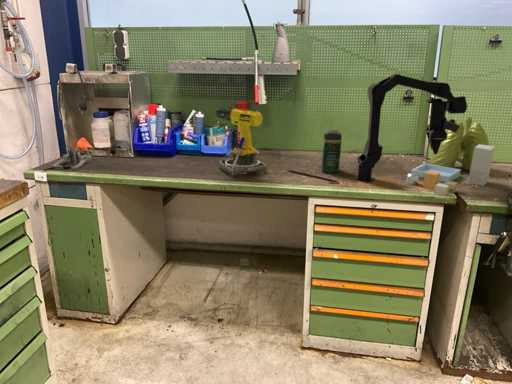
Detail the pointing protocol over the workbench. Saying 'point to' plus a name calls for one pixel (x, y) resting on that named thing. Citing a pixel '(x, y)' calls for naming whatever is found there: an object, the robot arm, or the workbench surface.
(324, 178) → the crowbar
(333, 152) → the coffee jar
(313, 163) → the workbench surface
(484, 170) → the skincare box
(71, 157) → the bike brake
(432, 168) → the parts tray
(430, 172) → the orange block
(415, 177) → the grey metal puck
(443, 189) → the offwhite block
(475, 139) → the lungs
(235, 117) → the cordless drill
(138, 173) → the workbench surface
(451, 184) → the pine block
